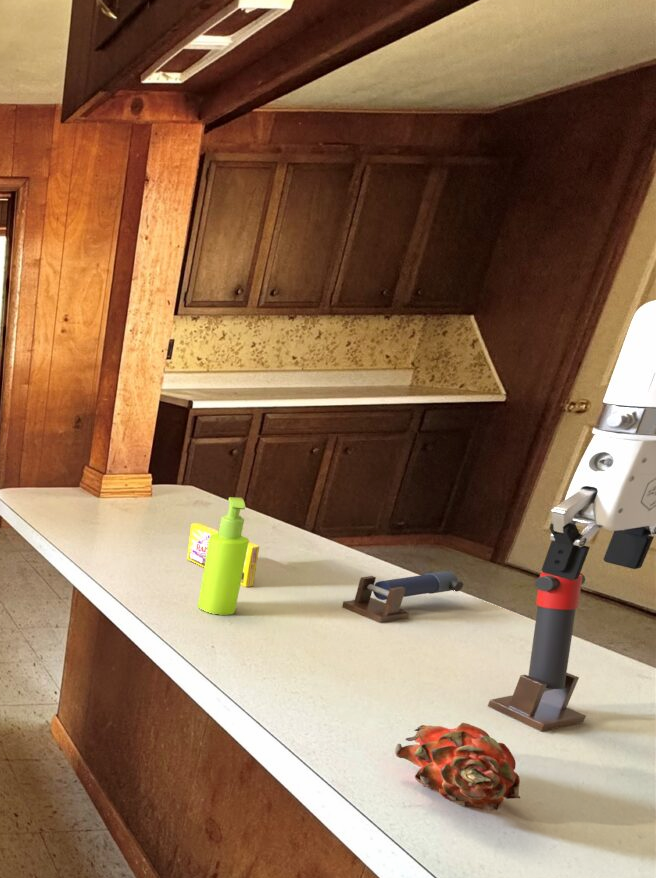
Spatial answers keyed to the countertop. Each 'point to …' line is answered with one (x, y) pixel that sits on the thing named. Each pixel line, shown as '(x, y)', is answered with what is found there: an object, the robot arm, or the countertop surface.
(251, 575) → the candy box
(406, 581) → the navy marker
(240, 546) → the soap dispenser
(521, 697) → the holder
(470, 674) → the countertop surface
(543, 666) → the red marker
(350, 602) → the holder
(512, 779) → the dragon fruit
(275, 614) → the countertop surface
